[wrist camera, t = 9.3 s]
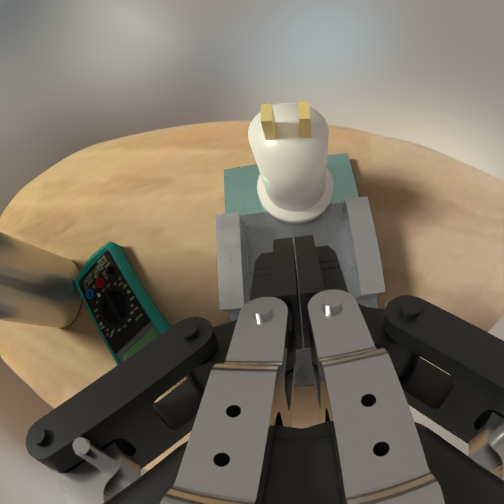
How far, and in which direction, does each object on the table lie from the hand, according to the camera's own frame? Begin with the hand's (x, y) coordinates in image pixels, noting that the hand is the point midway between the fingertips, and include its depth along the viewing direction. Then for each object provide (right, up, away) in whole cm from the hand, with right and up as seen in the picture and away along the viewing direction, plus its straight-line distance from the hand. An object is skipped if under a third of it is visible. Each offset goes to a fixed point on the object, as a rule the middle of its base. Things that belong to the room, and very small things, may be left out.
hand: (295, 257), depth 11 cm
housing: (+3, -1, +15) cm, 15 cm away
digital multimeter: (-15, -6, +17) cm, 24 cm away
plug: (+3, +6, +16) cm, 17 cm away
